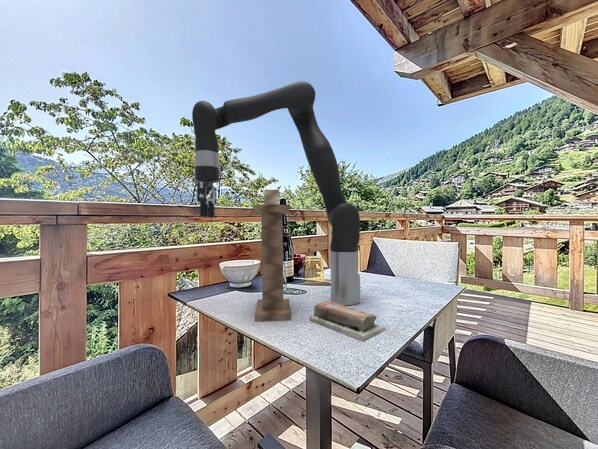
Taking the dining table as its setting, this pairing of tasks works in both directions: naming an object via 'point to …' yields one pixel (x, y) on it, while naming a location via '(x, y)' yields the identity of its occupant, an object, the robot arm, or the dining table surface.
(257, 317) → the stand
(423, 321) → the dining table surface
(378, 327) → the red and grey block
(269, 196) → the beige wooden bar
